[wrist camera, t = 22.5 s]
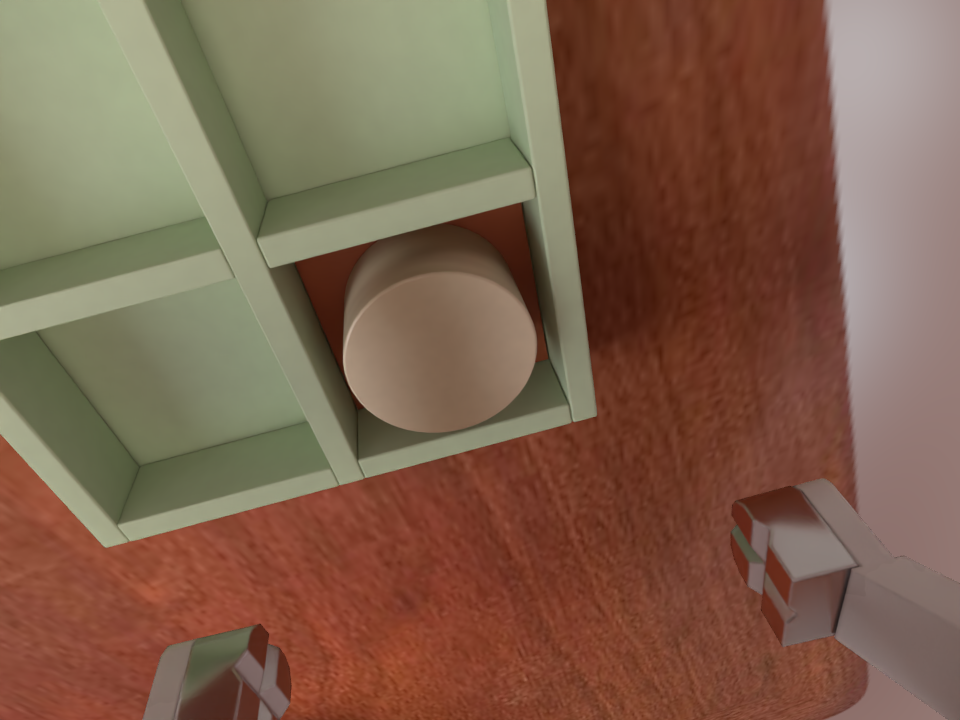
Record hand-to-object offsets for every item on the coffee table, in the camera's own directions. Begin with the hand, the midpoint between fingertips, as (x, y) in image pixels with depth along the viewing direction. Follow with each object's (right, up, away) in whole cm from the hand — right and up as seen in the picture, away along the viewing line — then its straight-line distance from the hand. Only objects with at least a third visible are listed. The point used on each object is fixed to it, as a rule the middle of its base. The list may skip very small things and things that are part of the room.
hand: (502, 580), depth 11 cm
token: (-2, +5, +8) cm, 10 cm away
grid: (-6, +8, +6) cm, 12 cm away
